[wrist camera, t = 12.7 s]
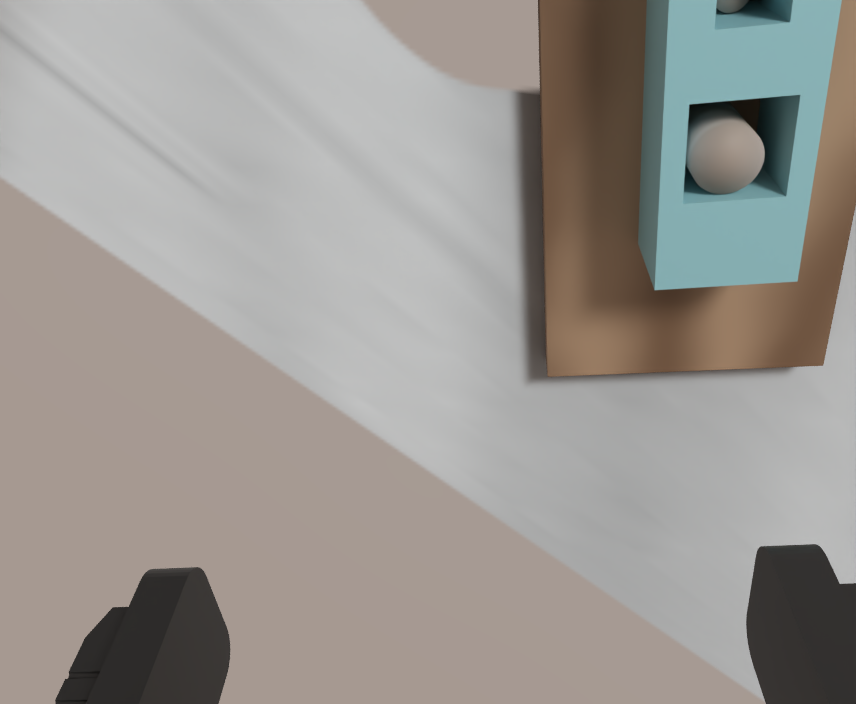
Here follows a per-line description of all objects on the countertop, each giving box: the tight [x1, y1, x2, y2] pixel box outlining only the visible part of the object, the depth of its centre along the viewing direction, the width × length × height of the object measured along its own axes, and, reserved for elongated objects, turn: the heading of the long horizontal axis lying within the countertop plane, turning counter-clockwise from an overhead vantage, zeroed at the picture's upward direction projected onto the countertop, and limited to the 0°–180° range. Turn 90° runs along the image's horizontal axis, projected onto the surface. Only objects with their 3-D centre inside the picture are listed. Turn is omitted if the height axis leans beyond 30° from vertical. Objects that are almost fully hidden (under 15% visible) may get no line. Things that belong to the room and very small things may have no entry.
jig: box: [538, 0, 856, 377], centre depth 29 cm, size 12×22×5 cm, turn 6°
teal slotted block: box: [638, 0, 842, 290], centre depth 27 cm, size 5×13×4 cm, turn 6°
